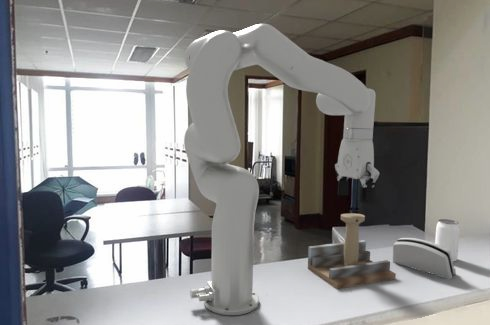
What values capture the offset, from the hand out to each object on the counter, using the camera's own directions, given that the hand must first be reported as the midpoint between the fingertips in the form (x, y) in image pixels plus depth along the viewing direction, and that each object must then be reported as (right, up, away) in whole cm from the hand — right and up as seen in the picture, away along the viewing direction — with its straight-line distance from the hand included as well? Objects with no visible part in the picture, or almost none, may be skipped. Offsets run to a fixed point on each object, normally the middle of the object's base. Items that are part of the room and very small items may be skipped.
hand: (353, 198), depth 105 cm
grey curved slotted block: (+22, -22, +7) cm, 31 cm away
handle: (0, -20, +2) cm, 20 cm away
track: (0, -21, +3) cm, 21 cm away
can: (+33, -21, +16) cm, 42 cm away
